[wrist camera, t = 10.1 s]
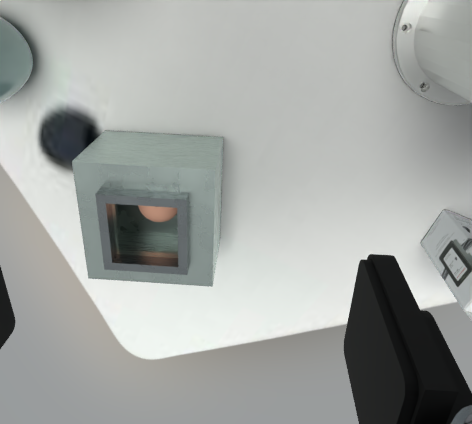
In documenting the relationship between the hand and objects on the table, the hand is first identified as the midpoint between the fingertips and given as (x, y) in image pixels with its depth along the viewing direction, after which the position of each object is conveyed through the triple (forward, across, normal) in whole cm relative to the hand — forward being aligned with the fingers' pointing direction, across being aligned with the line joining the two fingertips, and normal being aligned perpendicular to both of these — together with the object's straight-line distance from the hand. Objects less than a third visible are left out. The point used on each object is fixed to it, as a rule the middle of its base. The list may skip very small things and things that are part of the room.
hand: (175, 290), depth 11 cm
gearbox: (+33, +8, +12) cm, 36 cm away
